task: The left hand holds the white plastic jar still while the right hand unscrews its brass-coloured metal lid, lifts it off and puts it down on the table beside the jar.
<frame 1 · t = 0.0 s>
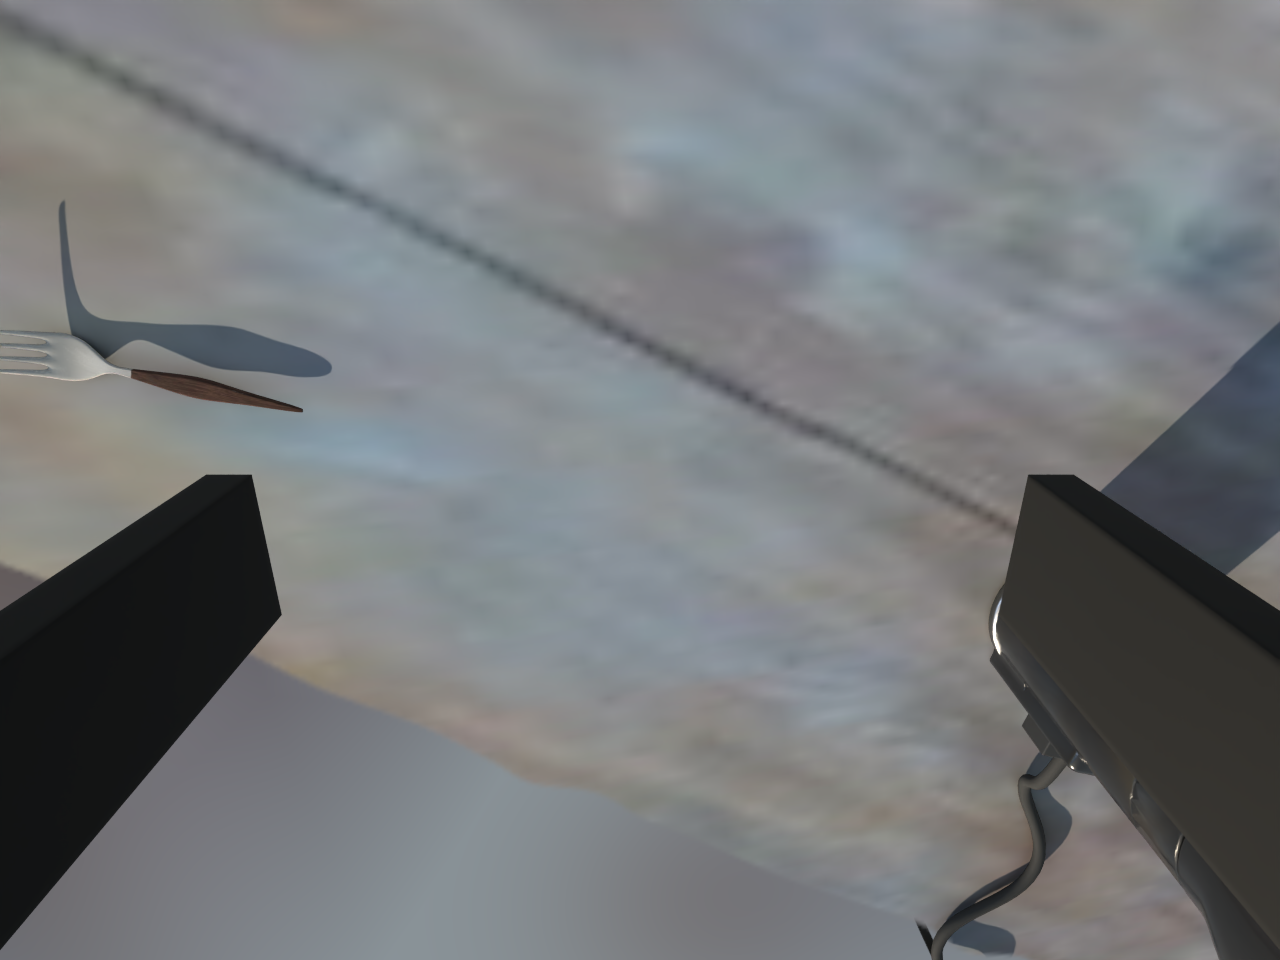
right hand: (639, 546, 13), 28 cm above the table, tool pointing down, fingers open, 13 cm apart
fork: (161, 375, 40), on the table
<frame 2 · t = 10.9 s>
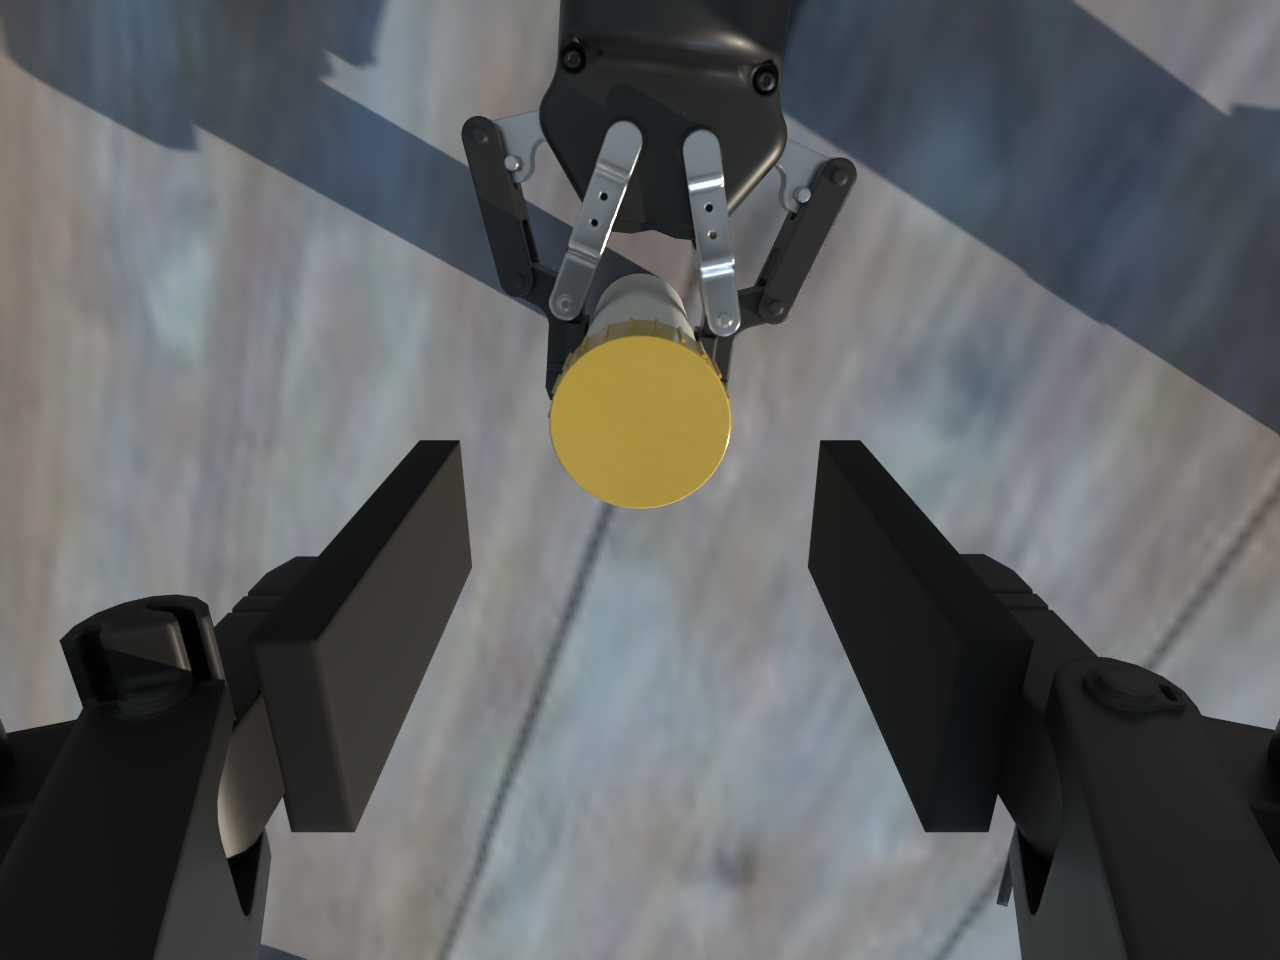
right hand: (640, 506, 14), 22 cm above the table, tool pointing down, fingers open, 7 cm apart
left hand: (633, 415, 29), fingers closed on jar, 4 cm apart
lid: (639, 422, 19), point 16 cm above the table, screwed on, not yet turned
jar: (640, 319, 34), on the table, touching left hand
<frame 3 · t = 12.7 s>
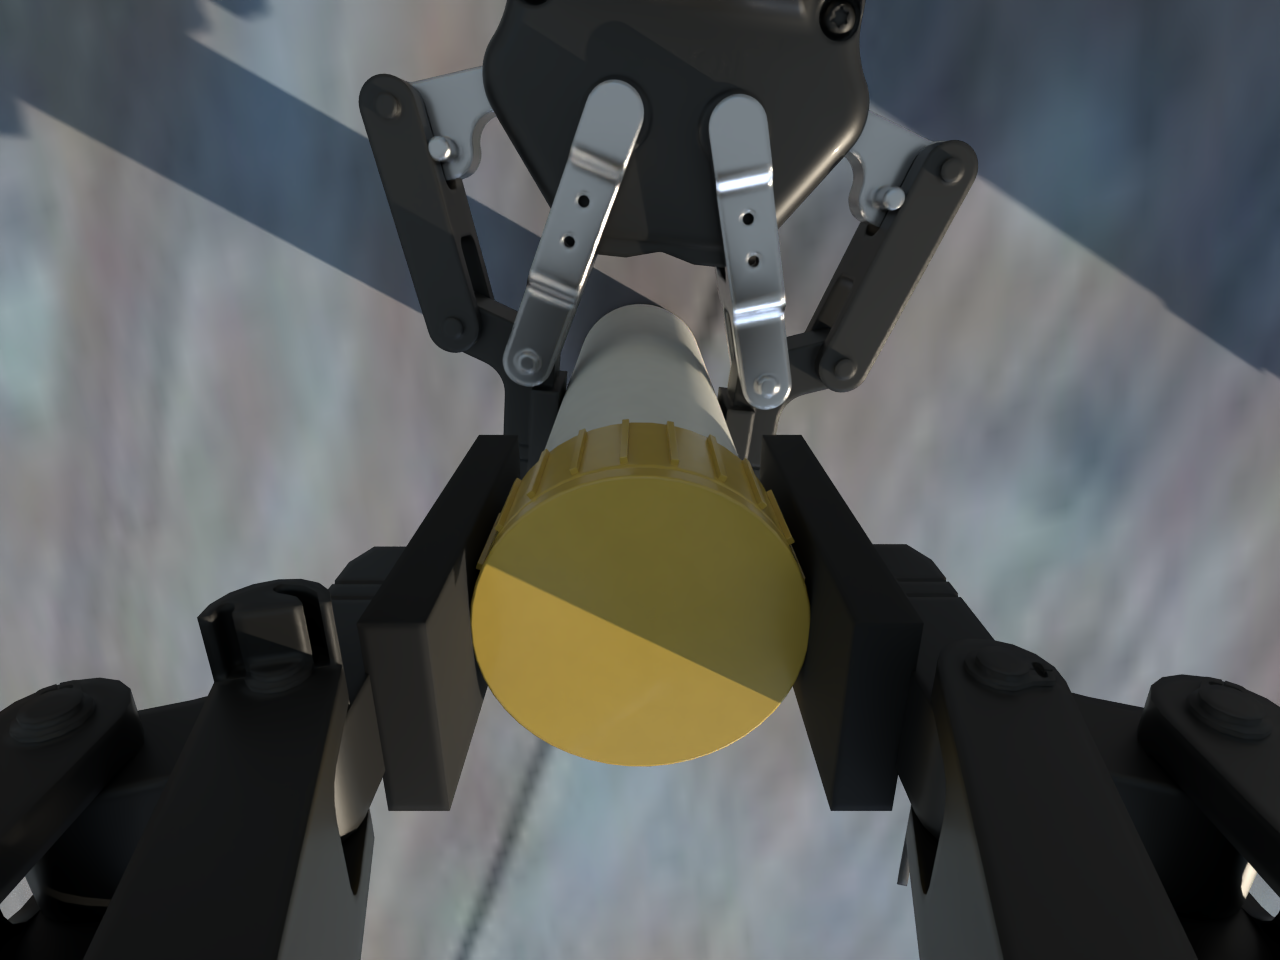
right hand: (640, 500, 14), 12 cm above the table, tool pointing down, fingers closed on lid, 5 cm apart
left hand: (631, 515, 20), fingers closed on jar, 4 cm apart
lid: (640, 620, 10), point 16 cm above the table, screwed on, not yet turned, touching right hand
jar: (640, 364, 25), on the table, touching left hand
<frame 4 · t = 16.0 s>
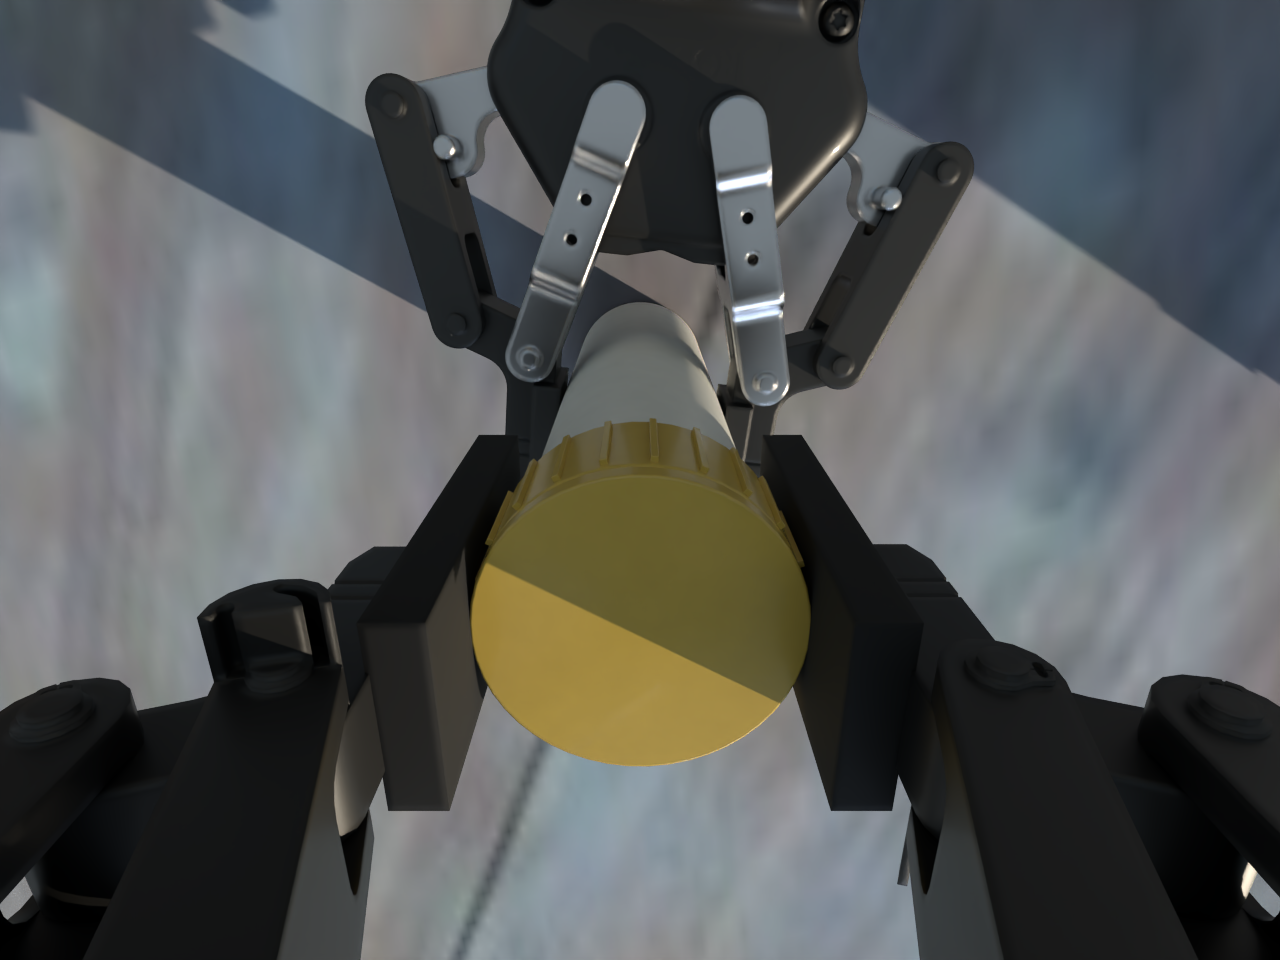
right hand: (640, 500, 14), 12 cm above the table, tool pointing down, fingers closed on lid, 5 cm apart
left hand: (631, 510, 20), fingers closed on jar, 4 cm apart
lid: (640, 620, 10), point 17 cm above the table, turned 105° so far, risen 0.3 cm, still on its thread, touching right hand
jar: (640, 362, 26), on the table, touching left hand
when the right hand's fingers open (0 cm above the table, at t = 22.3 s): lid drops 2 cm, point 2 cm above the table.
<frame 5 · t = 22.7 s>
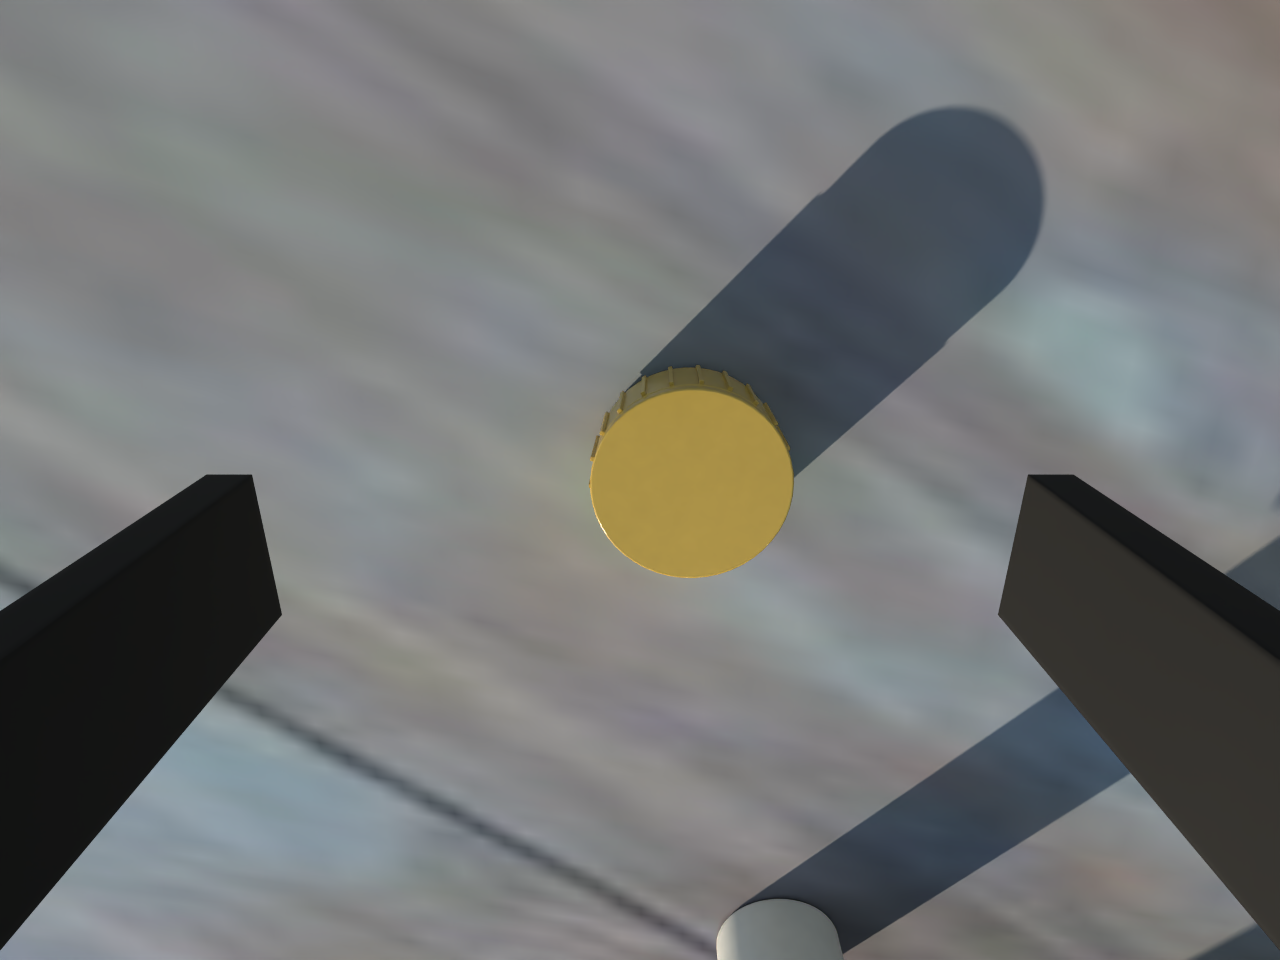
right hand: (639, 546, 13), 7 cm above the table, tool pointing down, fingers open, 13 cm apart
lid: (691, 482, 17), point 2 cm above the table, off its thread
jar: (776, 941, 25), on the table, touching left hand
when the left hand's fingers open (7 cm above the table, at t = 22.9 s): jar stays where it is, on the table.
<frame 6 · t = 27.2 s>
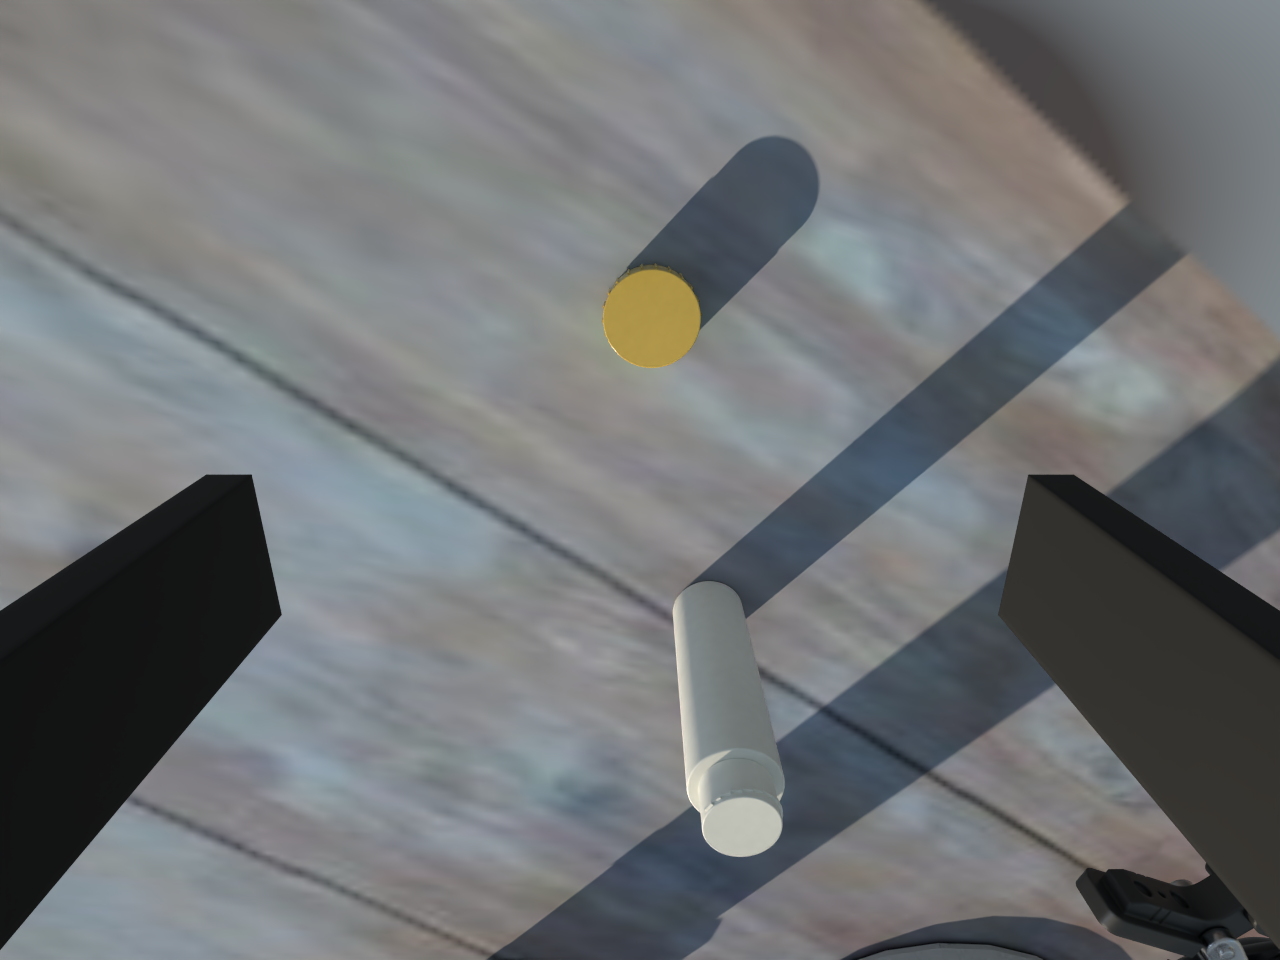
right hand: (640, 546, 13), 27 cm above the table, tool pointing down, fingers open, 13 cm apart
lid: (651, 318, 36), point 2 cm above the table, off its thread
jar: (707, 610, 44), on the table
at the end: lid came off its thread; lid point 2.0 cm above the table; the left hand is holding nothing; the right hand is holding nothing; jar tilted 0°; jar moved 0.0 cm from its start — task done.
